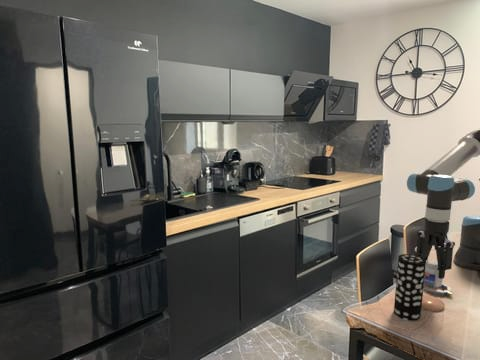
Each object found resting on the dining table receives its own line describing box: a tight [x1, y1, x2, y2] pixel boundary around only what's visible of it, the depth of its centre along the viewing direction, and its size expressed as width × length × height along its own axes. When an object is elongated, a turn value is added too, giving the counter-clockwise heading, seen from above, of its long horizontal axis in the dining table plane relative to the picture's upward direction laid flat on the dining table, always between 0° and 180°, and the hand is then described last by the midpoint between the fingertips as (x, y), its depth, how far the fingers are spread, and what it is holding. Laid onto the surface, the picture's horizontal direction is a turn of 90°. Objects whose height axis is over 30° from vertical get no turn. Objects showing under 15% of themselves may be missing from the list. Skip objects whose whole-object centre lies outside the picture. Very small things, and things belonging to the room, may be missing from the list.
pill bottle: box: [423, 260, 440, 291], centre depth 124 cm, size 5×5×10 cm
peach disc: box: [422, 294, 446, 312], centre depth 126 cm, size 10×10×1 cm
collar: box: [423, 282, 453, 299], centre depth 136 cm, size 9×12×2 cm
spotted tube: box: [393, 253, 426, 322], centre depth 117 cm, size 8×8×20 cm
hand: (430, 282), depth 125 cm, fingers closed on pill bottle, 5 cm apart
